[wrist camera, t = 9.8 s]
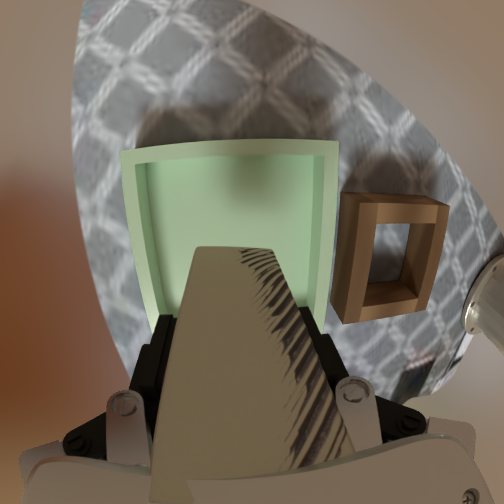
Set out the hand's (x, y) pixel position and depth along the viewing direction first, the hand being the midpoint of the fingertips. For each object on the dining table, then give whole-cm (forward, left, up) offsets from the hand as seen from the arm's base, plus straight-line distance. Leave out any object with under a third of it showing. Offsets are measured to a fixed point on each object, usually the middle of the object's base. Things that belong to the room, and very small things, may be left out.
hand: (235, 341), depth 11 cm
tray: (0, 0, -11) cm, 11 cm away
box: (0, 0, -5) cm, 5 cm away
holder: (-13, +1, -11) cm, 17 cm away
